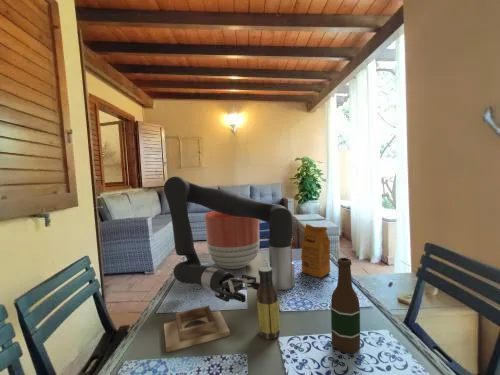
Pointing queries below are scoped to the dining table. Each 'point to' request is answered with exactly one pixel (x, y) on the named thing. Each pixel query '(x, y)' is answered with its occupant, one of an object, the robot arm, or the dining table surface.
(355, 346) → the beer bottle
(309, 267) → the coffee package
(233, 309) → the dining table surface
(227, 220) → the planter
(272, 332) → the sauce bottle
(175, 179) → the robot arm
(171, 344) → the socket board
